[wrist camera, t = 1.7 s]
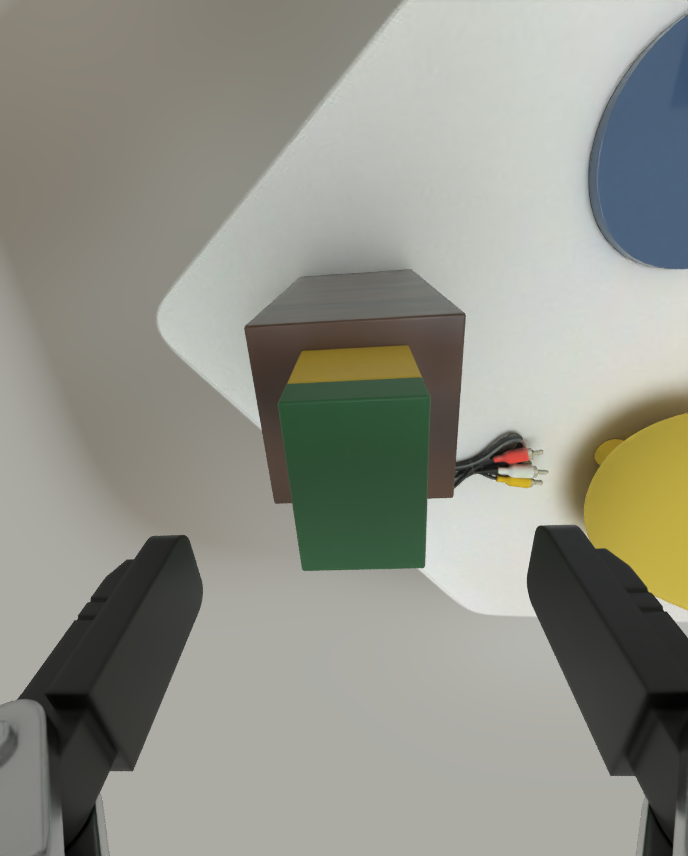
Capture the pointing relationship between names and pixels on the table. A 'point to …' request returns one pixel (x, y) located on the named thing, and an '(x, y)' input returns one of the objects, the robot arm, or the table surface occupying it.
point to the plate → (646, 156)
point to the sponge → (357, 457)
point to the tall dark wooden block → (358, 328)
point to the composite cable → (503, 464)
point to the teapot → (645, 506)
